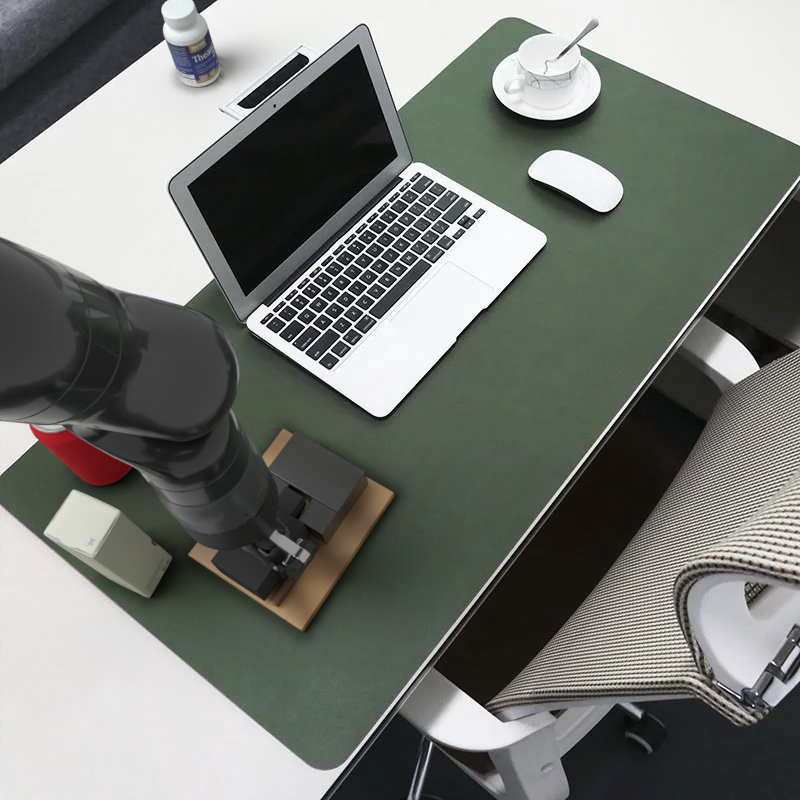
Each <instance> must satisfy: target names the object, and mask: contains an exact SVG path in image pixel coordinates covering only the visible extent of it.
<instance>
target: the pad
mask: <svg viewBox="0 0 800 800" xmlns="http://www.w3.org/2000/svg"><path fill="white" fill-rule="evenodd" d="M306 505H307V504H306V502H305V500H304V497H303V496H301V495H300V494H298V493H296V492H295V491H293V490H291V489H290V488H288V487H285V488H284V489H283V490H282V492H281V493H280V495H279V502H278V511H277V518H278V519H279V520H280V521H281V522H282V523H283V524H284V525H285V526H286V527H287V528H288V529H289V530H290V536H289V539H290V540H291V541H293V542H294V543H296V542H297V540H298V539H299V538H301V539H302V540H304V539H307V540H308V539H309V537H310V535H309V533H308V531H307V529H306V527H305V525H304V523H302V522H301V521H299V520H297V518H298V516H299V515H300V513H301V512H302V511H303V509H304V508H305V506H306ZM257 549H259V548H257ZM279 550H280V549H279ZM277 553H278V552H277ZM211 562H212V563H213V564H214V566H215V567H216V568H217V569H218V570H219V571H220V572H221V573H222V574H224V575H225V576H227V577H228V578H230V579H231V580H233V581H235V582H236V583H238V584H239V585H241V586H242V587H244V588H245V589H247V590H248V591H250V592H251V593H253V594H254V595H256V596H257V597H259V598H260V599H262V600H263V601H265V600H266V599H267V597H268V596H269V594H270V593H271V591H272V590H273V589H274V587H275V586H276V584H277V583H278V581H279V580H280V579H281V577H280V576H278V574H277V573H276V572H275V570H273V569H272V567H271V565H270V564H268V565H265V564H263V563H261V562H259V561H258V560H256V559H254V558H253V557H252V556H251V555H250V554H249V553H248V552H246V551H244V550H243V549H241V548H239V549H235V550H218V552H217V553H216V554H215V556H214V557H213V559H212V560H211Z"/></svg>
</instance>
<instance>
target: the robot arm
mask: <svg viewBox="0 0 800 800" xmlns="http://www.w3.org/2000/svg"><path fill="white" fill-rule="evenodd" d="M239 385H240V364H239V359H238V355H237V352H236V349H235V347H234V344H233V342H232V340H231V338H230V336H229V335H228V333H227V332H226V330H225V329H224V328H223V327H222V326H221V325H220V323H219V322H217V321H216V320H215V319H214V318H213V317H211V316H210V315H209V314H207V313H206V312H205V313H204V312H203V311H201V310H199V309H198V310H197V309H194V308H192V307H188V306H185V305H182V304H178V303H175V302H171V301H166V300H163V299H158V298H155V297H152V296H147V295H143V294H140V293H139V294H138V293H135V292H134V293H133V292H130V291H126V290H122V289H118V288H115V287H112V286H109V285H106V284H105V283H102V282H99V281H98V280H96V279H95V278H93V277H91V276H90V275H87V274H85V273H84V272H82V271H81V270H78V269H76V268H73V267H72V266H69V265H68V264H66V263H63V262H62V261H61V262H60V261H59V260H56V259H55V258H52V257H50V256H48V255H46V254H44V253H41V252H40V251H36V250H34V249H32V248H30V247H27V246H24V245H22V244H20V243H17V242H16V241H13V240H10V239H8V238H5V237H3V236H0V422H6V423H16V424H24V425H29V424H35V425H62V426H63V427H64V428H66V429H67V430H68V431H70V432H71V433H72V434H74V435H76V436H77V437H79V438H80V439H82V440H84V441H85V442H87V443H89V444H90V445H92V446H94V447H96V448H98V449H99V450H101V451H103V452H105V453H106V454H108V455H110V456H111V457H113V458H115V459H117V460H120V461H122V462H124V463H126V464H128V465H130V466H132V467H131V468H134V469H136V470H137V471H138V472H139V474H140V475H141V476H142V477H143V479H144V480H145V481H146V482H147V483H148V485H150V487H151V488H153V490H154V492H155V495H156V497H157V498H158V500H159V502H160V503H161V504H162V505H163V507H164V508H165V510H167V511H168V513H169V514H170V515H171V516H172V517H173V518H174V519H175V520H176V521H177V523H178V524H179V525H180V526H181V528H182V529H184V531H185V532H186V533H188V535H189V536H190V537H191V538H192V539H193V540H194V541H195V542H196V543H197V542H198V543H200V544H201V545H203V546H205V547H208V548H211V549H215V550H235V549H239V548H241V549H243V550H244V551H246V552H248V553H249V554H250V555H251V556H252V557H253V558H254V559H256V560H258V561H259V562H261V563H263V564H265V565H268V564H270V565H271V567H272V569H273V570H275V572H276V573H277V574H278V576H280V577H281V578H283V579H286V578H287V577H288V578H289V579H291V580H292V581H293V580H295V581H297V582H298V580H299V579H300V577H301V575H302V573H303V572H304V570H305V569H306V568H307V566H308V565H309V563H310V562H311V561H312V560H313V558H314V557H315V553H316V550H317V546H316V545H315V544H314V542H313V541H311V540H307V539H304V540H302V539H301V538H299V539H298V540H297V542H296V543H294V542H293V541H291V540H290V539H289V536H290V530H289V529H288V528H287V527H286V526H285V525H284V524H283V523H282V522H281V521H280V520H279V519H278V518H277V511H278V502H279V496H278V489H277V485H276V482H275V480H274V478H273V476H272V474H271V472H270V471H269V469H268V467H267V465H266V463H265V461H264V459H263V457H262V456H263V455H262V454H261V451H260V450H259V448H258V446H257V444H256V442H255V441H254V439H253V438H252V437H251V436H250V434H249V433H247V431H246V430H245V429H244V427H243V425H242V424H241V422H240V420H239V418H238V416H237V414H236V412H235V411H234V409H233V405H234V403H235V400H236V397H237V394H238V390H239ZM257 548H259V549H257ZM279 549H280V550H279ZM277 552H278V553H277Z"/></svg>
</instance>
